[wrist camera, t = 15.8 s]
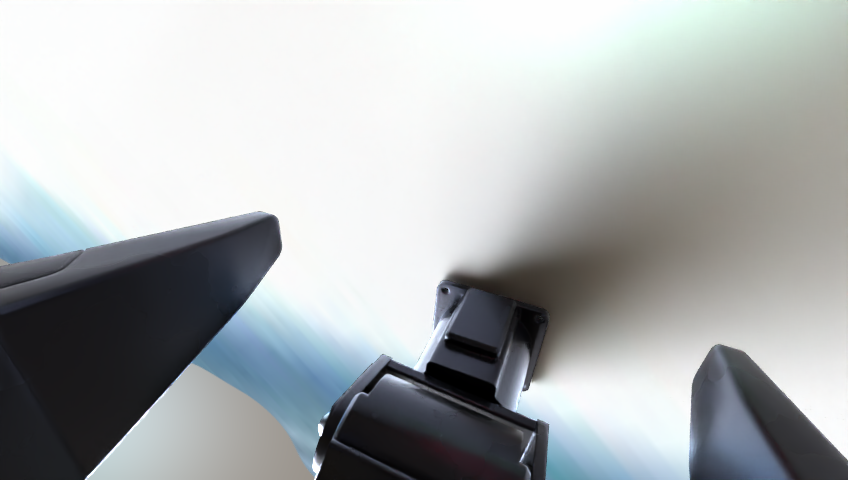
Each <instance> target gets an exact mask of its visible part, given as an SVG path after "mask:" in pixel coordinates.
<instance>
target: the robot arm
mask: <svg viewBox="0 0 848 480" xmlns="http://www.w3.org/2000/svg"><path fill="white" fill-rule="evenodd" d="M281 250H282V242H281V234H280V227H279V221H278V219H277V217H276V216H274V215H272V214H268V213H265V212H260V211H259V212H254V213H249V214H244V215H240V216H235V217H230V218H226V219H221V220H217V221H212V222H207V223H203V224H198V225H194V226H189V227H184V228H180V229H175V230H171V231H166V232H161V233H157V234H152V235H148V236H143V237H138V238H134V239H129V240H124V241H120V242H115V243H111V244H106V245H101V246H97V247H92V248H88V249H86V250H85V251H84V250H78V251H73V252H69V253H64V254H60V255H55V256H50V257H45V258H40V259H35V260H30V261H25V262H20V263H14V264H9V265H4V266H0V480H87V479H88V476H89V475H91V474H92V473H93V472H94V471H95V469H96V468H97V467H98V466H99V465H100V464H101V463H102V462H103V460H104V459H105V458H106V457H107V456H108V455H109V454H110V453H111V452H112V450H113V449H114V448H115V447H116V446H117V445H118V444H119V443H120V442H121V441H122V439H123V438H124V437H125V436H126V435H127V434H128V433H129V432H130V431H131V429H132V428H133V427H134V426H135V425H136V424H137V423H138V422H139V421H140V419H141V418H142V417H143V416H144V415H145V414H146V413H147V412H148V410H149V409H150V408H151V407H152V406H153V405H154V404H155V403H156V402H157V400H158V399H159V398H160V397H161V396H162V395H163V394H164V393H165V391H166V390H167V389H168V388H169V387H170V386H171V385H172V384H173V383H174V381H175V380H176V379H177V378H178V377H179V376H180V375H181V374H182V373H183V371H184V370H185V369H186V368H187V367H188V366H189V365H190V364H191V363H192V362H193V360H194V359H195V358H196V357H197V356H198V355H199V354H200V353H201V352H202V350H203V349H204V348H205V347H206V346H207V345H208V344H209V343H210V341H211V340H212V339H213V338H214V337H215V336H216V335H217V334H218V333H219V331H220V330H221V329H222V328H223V327H224V326H225V325H226V324H227V323H228V321H229V320H230V319H231V318H232V317H233V316H234V315H235V314H236V313H237V311H238V310H239V309H240V308H241V307H242V306H243V304H244V303H245V302H246V300H247V299H248V298H249V297H250V295H251V294H252V292H253V291H254V290H255V288H256V287H257V286H258V284H259V283H260V281H261V280H262V279H263V277H264V276H265V275H266V273H267V272H268V271H269V269H270V268H271V266H272V265H273V264H274V262H275V261H276V260H277V258H278V257H279V255H280V253H281ZM444 287H446V288H448V290H445V289H444ZM537 316H541V317H543V319H539V318H537ZM549 318H550V315H549V313H548V312H547V311H546V310H545V309H543V308H539V307H536V306H533V305H529V304H526V303H523V302H519V301H516V300H513V299H509V298H506V297H503V296H499V295H496V294H492V293H489V292H486V291H482V290H479V289H476V288H472V287H469V286H466V285H462V284H459V283H455V282H452V281H449V280H443V281H441V282H440V284H439V285H438V287H437V294H436V304H435V314H434V323H433V333H432V336H431V338H430V340H429V342H428V343H427V345H426V347H425V349H424V351H423V353H422V354H421V356H420V358H419V360H418V362H417V364H416V365H415V367H414V369H412V368H410V367H408V366H405V365H403V364H401V363H398V362H396V361H394V360H392V358H391V357H389V356H386V355H384V354H382V355H381V356H380V357H379V358H378V359H377V360H376V361H375V362H374V364H373V363H372V364H371V365H370V366H369V367H368V368H367V369H366V370H365V371H364V372H363V374H362V375H361V376H360V377H359V378H358V379H357V380H356V381H355V382H354V383H353V384H352V385H351V386H350V387H349V388H348V390H347V391H346V392H345V393H344V394H343V395H342V396H341V397H340V398H339V399H338V400H337V401H336V402H335V403H334V405H333V406H332V408H331V410H330V412H328V413H327V414H325V415H324V416H323V417H322V419H321V421H320V423H319V432H320V439H319V442H318V445H317V448H316V451H315V455H314V459H313V469H314V471H315V472H317V475H316V478H315V480H545V478H546V462H547V447H548V432H549V424H548V423H546V422H543V421H541V420H538V419H537V421H536V420H533V419H531V418H528V417H526V416H524V415H521V414H519V413H517V408H518V404H519V400H520V396H521V392H522V391H526V390H528V389H529V386H530V382H531V379H532V376H533V372H534V369H535V366H536V362H537V359H538V356H539V352H540V349H541V346H542V342H543V339H544V336H545V332H546V329H547V326H548V322H549ZM689 473H690V480H848V460H847V459H846V458H845V457H844V456H843V455H842V454H841V453H840V452H839V451H838V450H837V449H836V448H835V447H834V445H833V444H832V443H831V442H830V441H829V440H828V439H827V438H826V437H825V436H824V435H823V434H822V433H821V432H820V431H819V430H818V429H817V428H816V427H815V425H814V424H813V423H812V422H811V421H810V420H809V419H808V418H807V417H806V416H805V415H804V414H803V413H802V412H801V411H800V410H799V409H798V408H797V406H796V405H795V404H794V403H793V402H792V401H791V400H790V399H789V398H788V397H787V396H786V395H785V394H784V393H783V392H782V391H781V390H780V389H779V388H778V386H777V385H776V384H775V383H774V382H773V381H772V380H771V379H770V378H769V377H768V376H767V375H766V374H765V373H764V372H763V371H762V370H761V369H760V368H759V366H758V365H757V364H756V363H755V362H754V361H753V360H752V359H751V358H750V357H749V356H748V355H747V354H746V353H745V352H743V351H741V350H738V349H735V348H731V347H728V346H724V345H721V344H718V345H715V346H714V347H712V348H711V350H710V351H709V353H708V355H707V356H706V358H705V360H704V361H703V363H702V365H701V366H700V368H699V369H698V371H697V373H696V375H695V377H694V379H693V383H692V395H691V423H690V450H689Z"/></svg>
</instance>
